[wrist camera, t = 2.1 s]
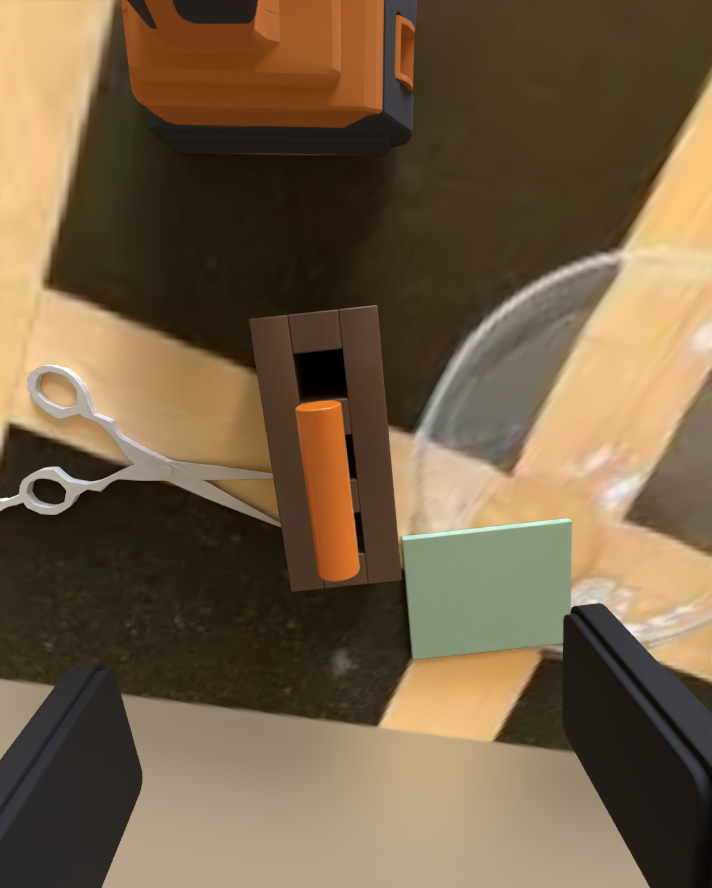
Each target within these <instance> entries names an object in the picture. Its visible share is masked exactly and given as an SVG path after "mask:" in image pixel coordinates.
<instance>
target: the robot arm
mask: <svg viewBox="0 0 712 888" xmlns="http://www.w3.org/2000/svg"><path fill="white" fill-rule="evenodd" d="M562 718H563V726H564V730H565V733H566V736H567V738H568V740H569V742H570V744H571V746H572V748H573V749H574V751H575V753H576V755H577V756H578V758H579V760H580V762H581V764H582V766H583V767H584V769H585V771H586V773H587V775H588V776H589V778H590V780H591V782H592V784H593V785H594V787H595V789H596V791H597V792H598V794H599V796H600V798H601V800H602V802H603V803H604V805H605V807H606V809H607V811H608V813H609V814H610V816H611V818H612V820H613V822H614V823H615V825H616V827H617V829H618V831H619V832H620V834H621V836H622V838H623V840H624V841H625V843H626V845H627V847H628V849H629V850H630V852H631V854H632V856H633V858H634V859H635V861H636V863H637V865H638V867H639V868H640V870H641V872H642V874H643V876H644V878H645V879H646V881H647V883H648V885H649V887H650V888H712V714H711V713H710V712H709V711H708V709H707V708H706V707H705V706H704V705H703V704H702V703H701V702H700V701H699V700H698V699H697V698H696V697H695V696H694V695H693V694H692V693H691V692H690V691H689V689H688V688H687V687H686V686H685V685H684V684H683V683H682V682H681V681H680V680H679V679H678V678H677V677H676V676H675V675H674V674H673V673H672V672H671V671H670V670H668V669H667V668H664V667H662V666H661V665H660V664H659V663H658V662H657V661H656V660H655V659H654V658H653V657H652V655H651V654H650V653H649V652H648V651H647V650H646V649H645V648H644V647H643V646H642V645H641V644H640V643H639V642H638V641H637V639H636V638H635V637H634V636H633V635H632V634H631V633H630V632H629V631H628V630H627V629H626V628H625V627H624V626H623V624H622V623H621V622H620V621H619V620H618V619H617V618H616V617H615V616H614V615H613V614H612V613H611V612H610V611H609V610H608V608H607V607H606V606H604V605H603V604H600V603H598V604H589V605H581V606H574V607H572V609H571V613H570V614H568V615H565V616H564V619H563V715H562ZM141 786H142V770H141V766H140V762H139V758H138V755H137V751H136V747H135V744H134V740H133V737H132V733H131V729H130V726H129V722H128V719H127V715H126V711H125V708H124V704H123V700H122V697H121V693H120V689H119V686H118V682H117V678H116V675H115V672H114V671H113V670H112V669H107V667H106V666H105V665H104V664H103V663H93V664H85V665H77V666H72V667H70V668H69V669H68V670H67V671H66V673H65V674H64V675H63V677H62V678H61V679H60V681H59V682H58V683H57V685H56V686H55V687H54V689H53V690H52V691H51V693H50V694H49V695H48V697H47V698H46V699H45V701H44V702H43V704H42V705H41V706H40V707H39V709H38V710H37V711H36V713H35V714H34V716H33V717H32V718H31V720H30V721H29V722H28V724H27V725H26V726H25V728H24V729H23V730H22V732H21V733H20V735H19V736H18V737H17V738H16V740H15V741H14V743H13V744H12V745H11V747H10V748H9V749H8V750H7V752H6V753H5V754H4V756H3V757H2V758H1V760H0V888H101V887H102V885H103V883H104V880H105V878H106V875H107V873H108V870H109V868H110V865H111V863H112V860H113V858H114V856H115V853H116V851H117V848H118V846H119V843H120V841H121V838H122V836H123V833H124V831H125V828H126V826H127V823H128V821H129V818H130V816H131V813H132V811H133V809H134V806H135V804H136V801H137V798H138V796H139V793H140V790H141Z"/></svg>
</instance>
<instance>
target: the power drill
mask: <svg viewBox="0 0 712 888" xmlns="http://www.w3.org/2000/svg"><path fill="white" fill-rule="evenodd" d="M121 5H122V14H123V22H124V30H125V38H126V47H127V55H128V63H129V72H130V80H131V87H132V92H133V94H134V96H135V98H136V99H137V100H138V101H139V102H140V103H141V104H143V105H144V106H146V107H147V114H148V124H149V129H150V130H151V131H152V132H153V133H154V134H155V135H156V136H157V137H158V138H159V139H160V140H163V141H164V142H165V143H166V144H167V145H168V146H169V147H170V148H172V149H173V150H174V151H175V152H179V153H183V154H228V155H285V156H342V157H379V156H383V155H385V154H386V153H387V151H388V148H389V147H396V146H400V145H404V144H406V143H407V142H408V141H409V140H410V138H411V136H412V132H413V102H414V98H413V94H412V90H413V62H414V37H415V31H416V5H417V0H121Z"/></svg>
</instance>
